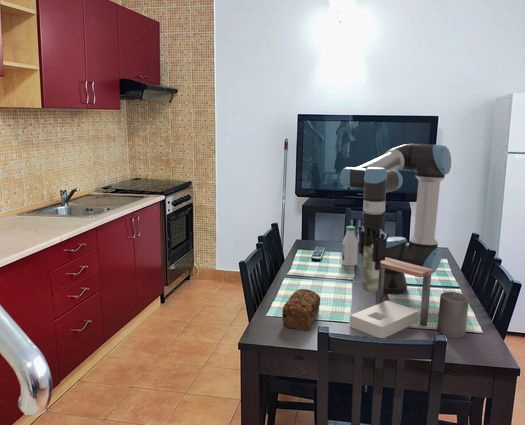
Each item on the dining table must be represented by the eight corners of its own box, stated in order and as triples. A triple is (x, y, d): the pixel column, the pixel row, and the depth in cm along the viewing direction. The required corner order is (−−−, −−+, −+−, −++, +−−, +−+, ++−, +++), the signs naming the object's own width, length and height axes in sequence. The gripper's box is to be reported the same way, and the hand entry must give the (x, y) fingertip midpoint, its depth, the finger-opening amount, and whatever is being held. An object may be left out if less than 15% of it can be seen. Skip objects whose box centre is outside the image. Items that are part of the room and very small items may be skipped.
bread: (295, 309, 204) (295, 285, 202) (321, 313, 201) (322, 289, 199) (280, 327, 187) (281, 301, 185) (309, 332, 184) (309, 306, 182)
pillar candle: (432, 327, 189) (436, 288, 186) (458, 326, 190) (462, 288, 187) (443, 338, 180) (447, 298, 176) (470, 338, 180) (474, 298, 177)
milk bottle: (358, 263, 267) (360, 226, 263) (353, 267, 260) (355, 229, 257) (345, 261, 271) (346, 224, 267) (339, 265, 264) (340, 227, 261)
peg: (362, 288, 185) (363, 246, 182) (370, 287, 187) (372, 244, 184) (369, 292, 182) (371, 248, 178) (378, 290, 183) (380, 247, 180)
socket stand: (379, 307, 207) (382, 256, 203) (428, 324, 191) (433, 269, 187) (341, 323, 191) (343, 268, 187) (391, 343, 175) (395, 283, 171)
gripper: (349, 208, 184) (347, 271, 189) (382, 217, 169) (378, 285, 174) (366, 206, 187) (363, 268, 192) (399, 215, 173) (395, 281, 178)
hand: (370, 276), depth 183 cm, fingers closed on peg, 4 cm apart
